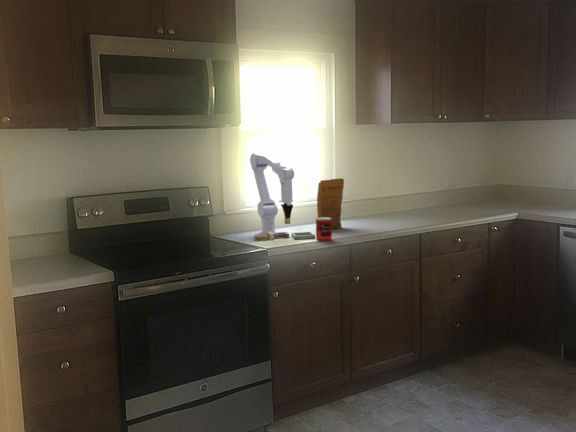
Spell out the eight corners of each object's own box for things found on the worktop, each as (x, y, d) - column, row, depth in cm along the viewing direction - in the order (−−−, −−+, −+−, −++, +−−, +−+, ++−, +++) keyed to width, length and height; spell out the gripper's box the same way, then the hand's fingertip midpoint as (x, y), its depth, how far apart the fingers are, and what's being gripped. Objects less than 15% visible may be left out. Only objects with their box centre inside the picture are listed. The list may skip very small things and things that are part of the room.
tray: (291, 236, 339) (291, 232, 338) (310, 235, 340) (310, 231, 340) (295, 239, 327) (295, 236, 326) (315, 238, 328) (315, 235, 328)
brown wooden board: (254, 238, 336) (254, 234, 336) (265, 238, 337) (265, 233, 336) (255, 241, 327) (255, 236, 327) (267, 240, 328) (267, 236, 328)
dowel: (284, 223, 336) (283, 209, 335) (290, 223, 336) (289, 209, 336) (285, 224, 333) (284, 210, 332) (290, 223, 333) (290, 210, 333)
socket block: (274, 236, 340) (273, 232, 339) (287, 235, 341) (287, 232, 340) (275, 238, 333) (275, 234, 332) (289, 237, 334) (289, 233, 334)
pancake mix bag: (348, 227, 364) (347, 178, 361) (320, 231, 354) (318, 180, 351) (341, 226, 370) (340, 177, 366) (313, 229, 360) (312, 179, 357)
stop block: (267, 237, 337) (267, 231, 336) (272, 237, 337) (272, 231, 337) (269, 239, 329) (269, 233, 328) (274, 239, 329) (274, 233, 329)
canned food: (322, 238, 328) (321, 216, 327) (335, 239, 323) (334, 217, 322) (313, 240, 322) (312, 218, 321) (326, 241, 317) (325, 219, 316)
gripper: (277, 191, 339) (278, 216, 341) (280, 193, 325) (281, 219, 327) (290, 190, 340) (291, 216, 342) (294, 192, 326) (295, 219, 328)
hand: (287, 218), depth 334 cm, fingers closed on dowel, 3 cm apart
